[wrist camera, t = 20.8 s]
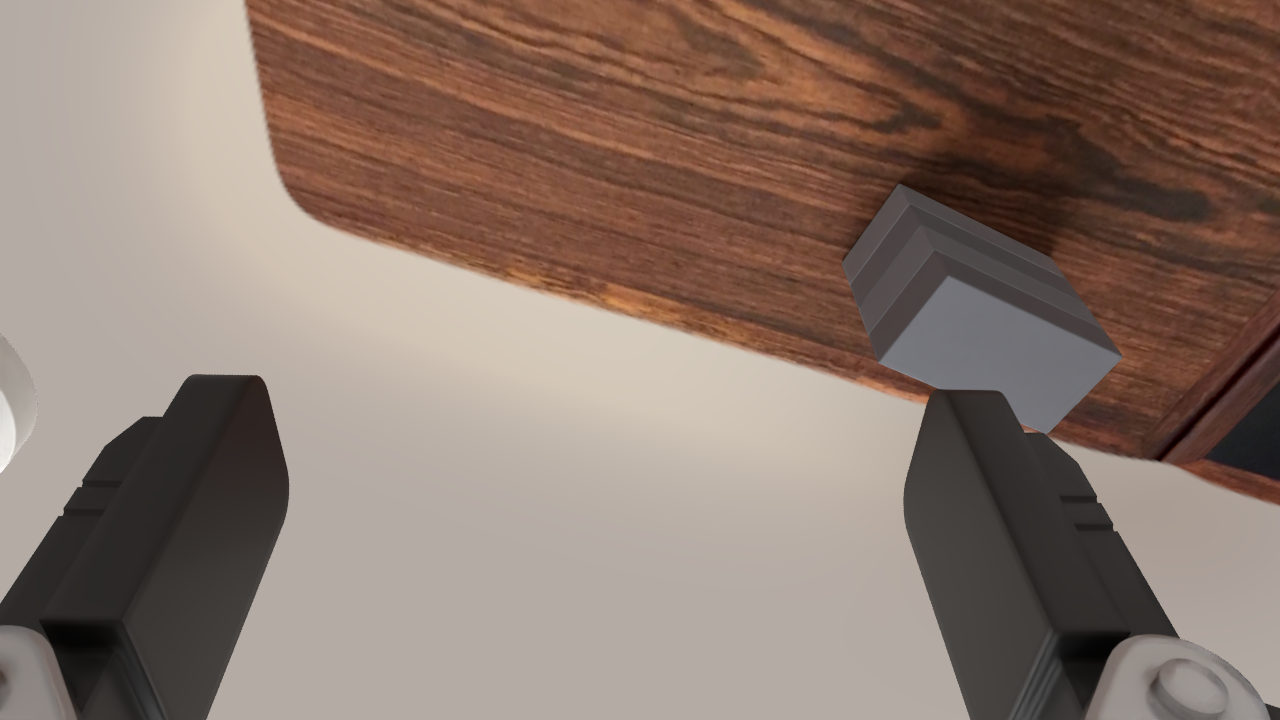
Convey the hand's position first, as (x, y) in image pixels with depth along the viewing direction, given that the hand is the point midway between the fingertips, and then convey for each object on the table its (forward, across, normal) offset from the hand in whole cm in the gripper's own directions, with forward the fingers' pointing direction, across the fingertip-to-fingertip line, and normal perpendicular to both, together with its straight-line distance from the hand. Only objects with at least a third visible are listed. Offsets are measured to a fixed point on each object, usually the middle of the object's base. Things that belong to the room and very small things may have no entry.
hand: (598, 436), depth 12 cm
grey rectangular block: (+26, -14, +12) cm, 32 cm away
